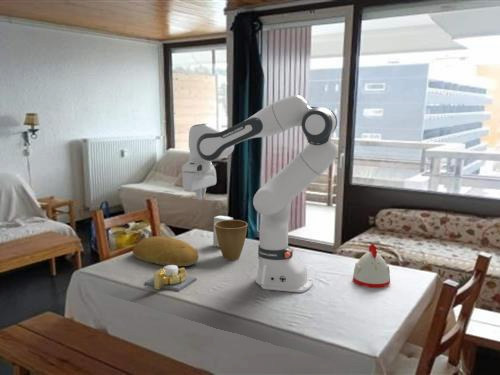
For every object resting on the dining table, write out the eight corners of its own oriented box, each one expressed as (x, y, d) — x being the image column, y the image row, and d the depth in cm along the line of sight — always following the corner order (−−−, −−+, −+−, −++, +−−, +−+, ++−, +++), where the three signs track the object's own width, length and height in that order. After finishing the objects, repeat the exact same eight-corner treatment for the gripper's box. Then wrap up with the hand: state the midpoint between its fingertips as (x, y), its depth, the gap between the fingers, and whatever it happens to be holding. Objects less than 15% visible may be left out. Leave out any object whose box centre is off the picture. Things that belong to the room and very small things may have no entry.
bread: (183, 273, 176) (182, 249, 175) (124, 258, 195) (123, 237, 193) (209, 260, 192) (209, 239, 190) (153, 248, 210) (152, 228, 208)
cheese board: (165, 272, 173) (165, 258, 172) (190, 275, 169) (189, 261, 168) (143, 286, 158) (142, 271, 157) (170, 290, 154) (169, 275, 153)
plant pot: (208, 257, 195) (208, 223, 193) (233, 250, 205) (233, 218, 202) (229, 265, 184) (228, 229, 182) (254, 257, 194) (254, 223, 192)
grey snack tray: (196, 280, 168) (196, 265, 167) (178, 291, 157) (178, 276, 156) (163, 273, 175) (163, 259, 174) (144, 284, 164) (143, 269, 163)
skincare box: (213, 246, 212) (212, 217, 209) (219, 243, 217) (218, 214, 214) (227, 248, 208) (227, 219, 205) (233, 245, 213) (233, 216, 211)
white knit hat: (357, 288, 160) (359, 249, 157) (349, 274, 173) (350, 239, 171) (394, 288, 160) (397, 249, 157) (383, 274, 173) (385, 239, 171)
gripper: (206, 162, 179) (207, 194, 181) (179, 167, 161) (180, 203, 163) (220, 162, 176) (220, 195, 179) (193, 168, 158) (194, 204, 160)
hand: (201, 199), depth 171 cm, fingers closed
